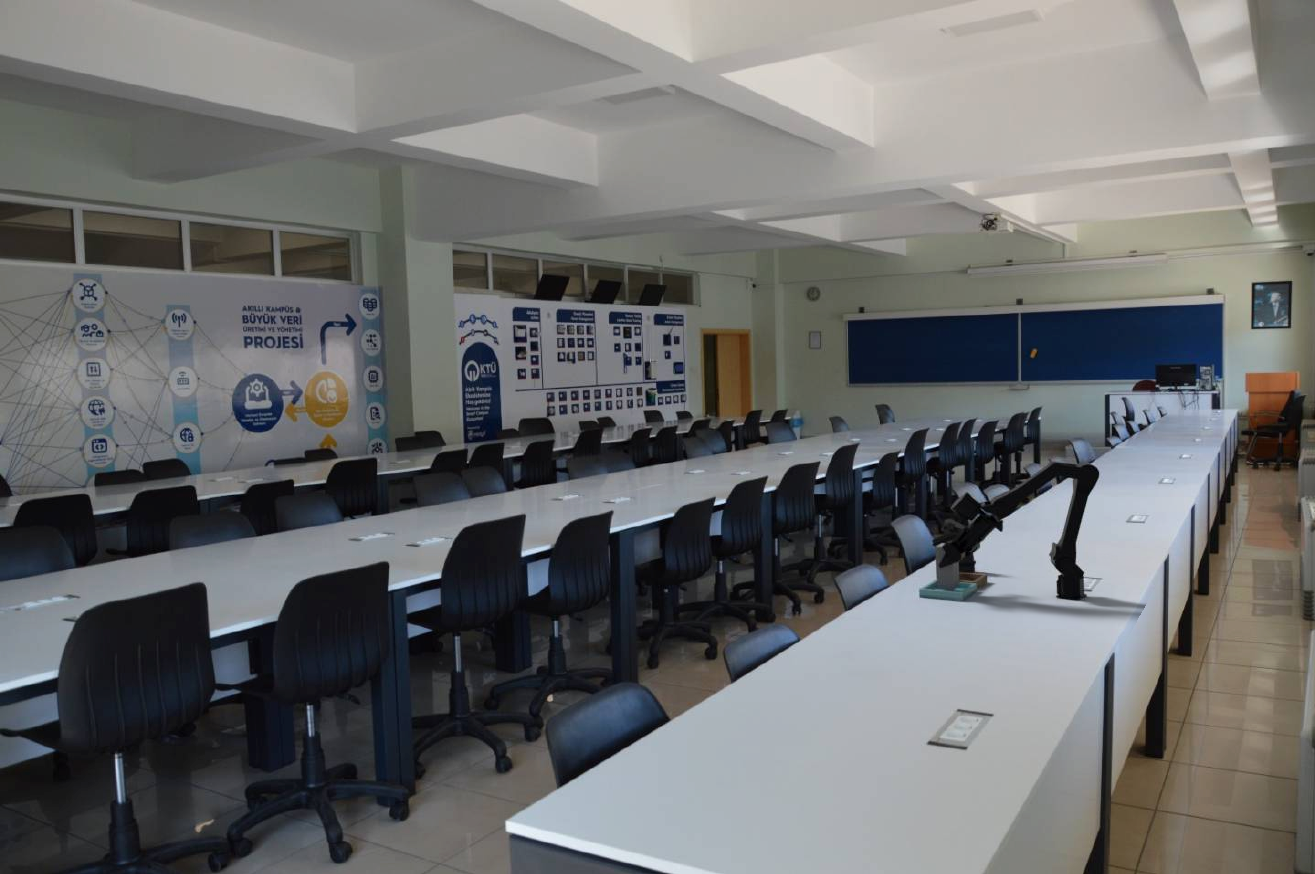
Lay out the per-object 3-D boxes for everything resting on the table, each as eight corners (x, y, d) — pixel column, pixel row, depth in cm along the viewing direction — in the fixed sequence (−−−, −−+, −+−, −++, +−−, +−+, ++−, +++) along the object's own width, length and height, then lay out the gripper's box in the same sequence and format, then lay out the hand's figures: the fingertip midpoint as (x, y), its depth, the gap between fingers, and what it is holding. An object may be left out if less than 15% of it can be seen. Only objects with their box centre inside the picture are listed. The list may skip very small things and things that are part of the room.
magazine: (983, 569, 318) (961, 527, 320) (946, 584, 324) (925, 543, 326) (985, 566, 321) (963, 525, 323) (949, 581, 327) (928, 541, 330)
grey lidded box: (959, 586, 294) (957, 543, 294) (953, 590, 290) (951, 547, 289) (943, 585, 297) (941, 543, 297) (937, 589, 293) (935, 546, 292)
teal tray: (977, 591, 296) (976, 583, 295) (962, 601, 285) (962, 593, 284) (935, 587, 303) (934, 580, 303) (919, 597, 292) (919, 589, 292)
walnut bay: (987, 582, 306) (986, 557, 306) (976, 590, 297) (975, 564, 296) (952, 579, 313) (951, 555, 312) (940, 587, 303) (939, 561, 303)
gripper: (968, 506, 297) (934, 540, 305) (947, 515, 282) (912, 551, 289) (995, 532, 293) (960, 566, 301) (976, 543, 278) (939, 579, 285)
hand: (942, 565), depth 294 cm, fingers open, 6 cm apart
